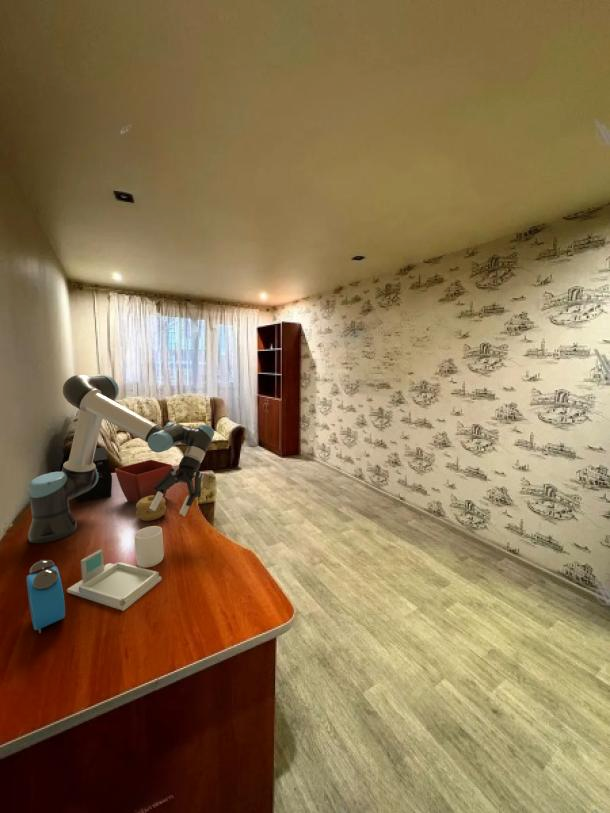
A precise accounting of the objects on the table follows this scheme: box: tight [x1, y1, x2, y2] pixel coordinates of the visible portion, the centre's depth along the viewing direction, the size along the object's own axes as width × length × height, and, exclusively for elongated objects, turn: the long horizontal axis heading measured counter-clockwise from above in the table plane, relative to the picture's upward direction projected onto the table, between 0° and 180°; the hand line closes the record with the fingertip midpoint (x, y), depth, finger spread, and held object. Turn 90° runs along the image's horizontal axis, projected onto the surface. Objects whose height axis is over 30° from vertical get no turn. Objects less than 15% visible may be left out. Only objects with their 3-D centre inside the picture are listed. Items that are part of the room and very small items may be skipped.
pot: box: [135, 495, 167, 522], centre depth 137 cm, size 12×12×10 cm
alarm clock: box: [26, 559, 66, 634], centre depth 80 cm, size 13×6×15 cm, turn 46°
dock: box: [66, 549, 163, 612], centre depth 94 cm, size 22×13×8 cm, turn 70°
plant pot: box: [114, 459, 173, 505], centre depth 157 cm, size 19×19×17 cm
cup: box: [134, 525, 165, 569], centre depth 107 cm, size 8×12×10 cm
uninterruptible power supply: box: [75, 446, 113, 504], centre depth 170 cm, size 16×34×20 cm, turn 35°
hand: (166, 512), depth 114 cm, fingers open, 13 cm apart
